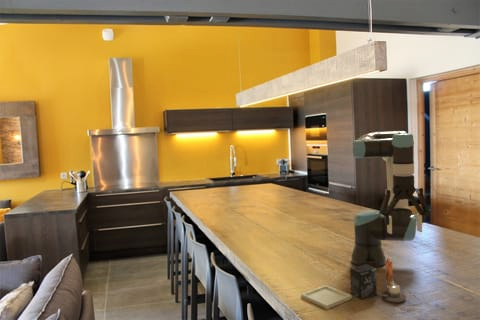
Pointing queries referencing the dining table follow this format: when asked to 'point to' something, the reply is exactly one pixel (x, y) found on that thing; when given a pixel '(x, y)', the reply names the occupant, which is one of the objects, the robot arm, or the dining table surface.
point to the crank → (391, 281)
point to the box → (363, 281)
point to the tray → (326, 296)
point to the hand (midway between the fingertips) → (404, 232)
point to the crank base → (394, 298)
